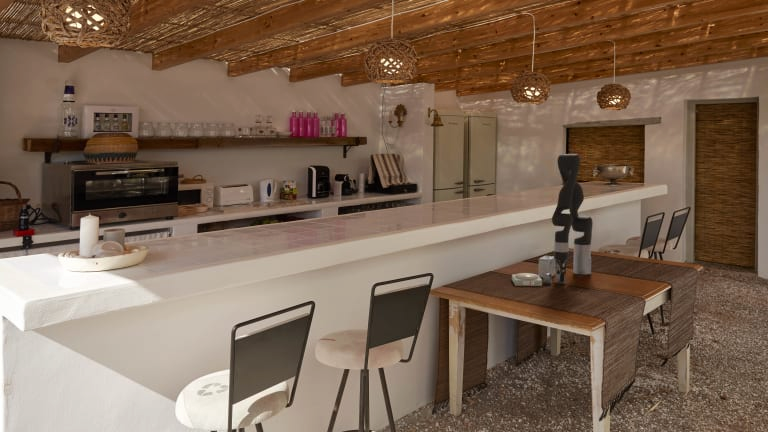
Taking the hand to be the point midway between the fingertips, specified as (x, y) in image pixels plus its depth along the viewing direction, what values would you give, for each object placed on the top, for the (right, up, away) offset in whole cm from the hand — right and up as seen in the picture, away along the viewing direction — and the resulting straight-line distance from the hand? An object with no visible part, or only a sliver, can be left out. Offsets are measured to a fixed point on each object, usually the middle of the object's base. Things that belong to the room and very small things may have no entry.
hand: (560, 280), depth 317 cm
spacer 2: (0, -2, 0) cm, 2 cm away
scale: (-18, -2, +2) cm, 18 cm away
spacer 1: (-7, -2, +1) cm, 7 cm away
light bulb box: (-2, 0, +19) cm, 19 cm away
